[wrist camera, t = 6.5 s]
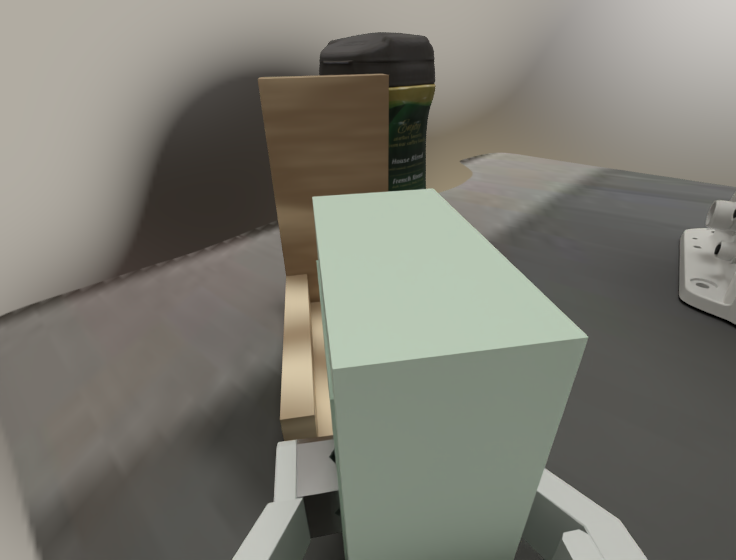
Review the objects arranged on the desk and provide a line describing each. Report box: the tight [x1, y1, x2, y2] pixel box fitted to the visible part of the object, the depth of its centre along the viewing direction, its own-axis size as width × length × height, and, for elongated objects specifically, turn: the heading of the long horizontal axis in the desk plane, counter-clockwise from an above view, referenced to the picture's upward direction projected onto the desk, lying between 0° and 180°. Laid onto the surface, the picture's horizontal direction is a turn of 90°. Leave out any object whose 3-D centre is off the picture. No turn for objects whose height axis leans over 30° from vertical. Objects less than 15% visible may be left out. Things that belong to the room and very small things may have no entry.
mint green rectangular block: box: [312, 189, 589, 560], centre depth 10 cm, size 6×3×14 cm, turn 9°
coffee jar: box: [319, 32, 435, 192], centre depth 35 cm, size 10×8×19 cm
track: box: [258, 74, 389, 441], centre depth 21 cm, size 15×8×16 cm, turn 9°
